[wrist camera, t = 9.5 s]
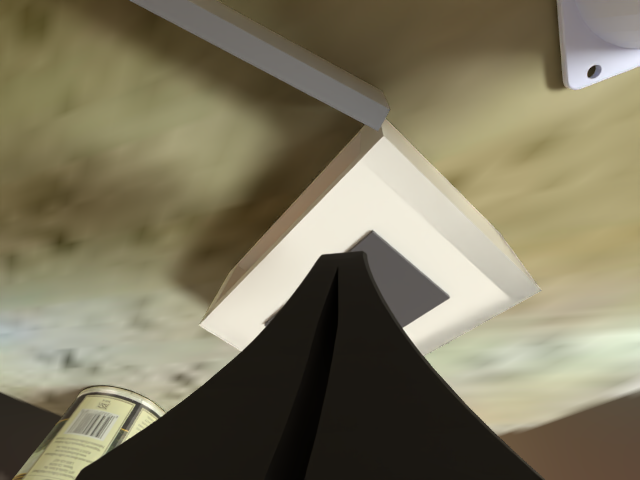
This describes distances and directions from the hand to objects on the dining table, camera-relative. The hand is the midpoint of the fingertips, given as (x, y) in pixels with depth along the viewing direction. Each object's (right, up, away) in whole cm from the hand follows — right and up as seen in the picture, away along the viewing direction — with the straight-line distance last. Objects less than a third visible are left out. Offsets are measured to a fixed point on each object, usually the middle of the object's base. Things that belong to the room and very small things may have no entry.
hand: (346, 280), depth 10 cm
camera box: (+1, 0, +11) cm, 11 cm away
